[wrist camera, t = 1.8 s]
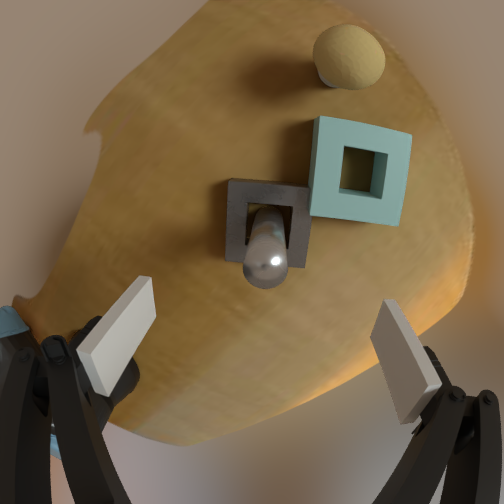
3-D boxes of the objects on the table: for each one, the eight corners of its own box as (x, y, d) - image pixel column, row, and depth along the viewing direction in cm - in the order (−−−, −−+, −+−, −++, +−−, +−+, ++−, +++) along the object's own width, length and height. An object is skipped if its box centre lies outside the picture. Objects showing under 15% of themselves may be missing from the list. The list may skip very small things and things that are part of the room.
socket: (305, 206, 31) (309, 215, 27) (314, 119, 27) (319, 115, 23) (385, 216, 30) (398, 226, 27) (396, 135, 27) (412, 135, 23)
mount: (228, 252, 34) (225, 260, 31) (231, 178, 30) (228, 181, 28) (302, 259, 33) (304, 268, 31) (312, 185, 30) (315, 188, 28)
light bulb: (371, 78, 24) (409, 57, 15) (334, 111, 26) (362, 98, 17) (331, 39, 23) (352, 3, 14) (293, 71, 25) (301, 40, 16)
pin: (254, 231, 33) (241, 286, 21) (255, 205, 31) (244, 246, 19) (281, 234, 32) (285, 290, 20) (284, 207, 31) (290, 250, 19)
